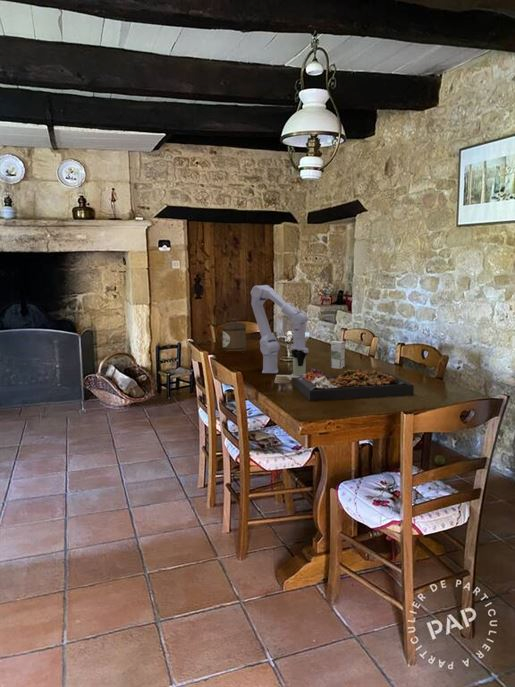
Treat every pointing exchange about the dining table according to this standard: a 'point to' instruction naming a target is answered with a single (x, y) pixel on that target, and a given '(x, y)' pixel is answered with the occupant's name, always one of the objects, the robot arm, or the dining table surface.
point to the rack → (285, 375)
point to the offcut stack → (282, 379)
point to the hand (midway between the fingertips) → (299, 365)
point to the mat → (297, 375)
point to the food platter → (351, 385)
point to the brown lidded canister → (234, 336)
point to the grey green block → (298, 367)
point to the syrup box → (337, 354)
